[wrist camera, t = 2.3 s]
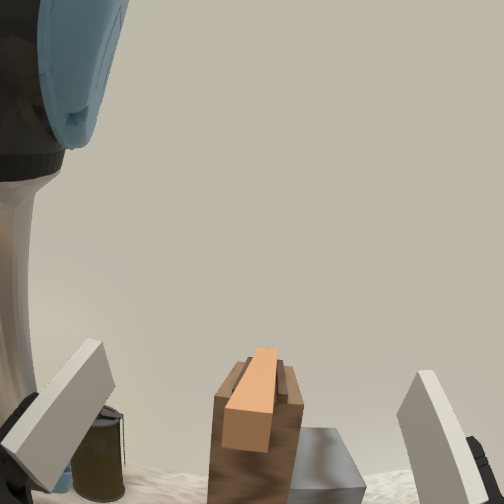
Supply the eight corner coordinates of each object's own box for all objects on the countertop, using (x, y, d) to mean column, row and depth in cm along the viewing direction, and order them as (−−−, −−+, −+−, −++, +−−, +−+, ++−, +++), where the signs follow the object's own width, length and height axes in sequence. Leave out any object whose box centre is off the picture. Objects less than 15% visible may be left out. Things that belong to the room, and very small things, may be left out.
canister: (69, 496, 31) (55, 403, 34) (77, 469, 41) (69, 385, 44) (127, 506, 34) (121, 415, 38) (127, 477, 44) (124, 394, 48)
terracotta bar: (221, 447, 17) (224, 407, 17) (256, 365, 46) (258, 347, 47) (267, 452, 16) (272, 413, 17) (275, 366, 46) (277, 348, 46)
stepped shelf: (204, 566, 23) (215, 386, 28) (224, 500, 42) (238, 355, 48) (331, 573, 21) (388, 395, 27) (317, 506, 41) (346, 363, 46)
